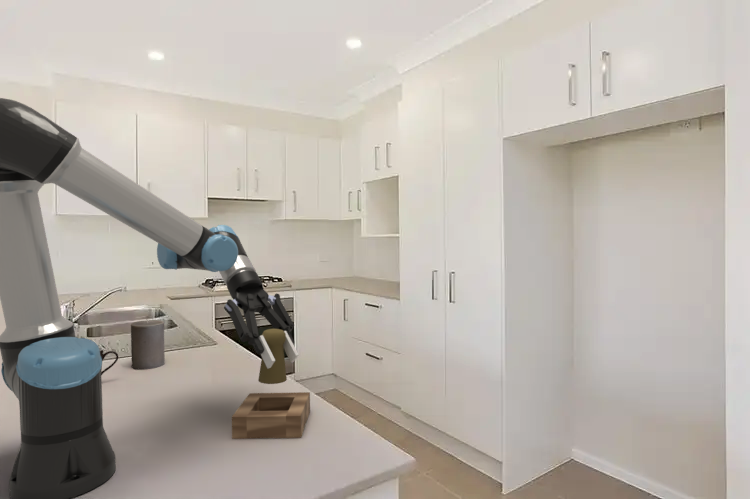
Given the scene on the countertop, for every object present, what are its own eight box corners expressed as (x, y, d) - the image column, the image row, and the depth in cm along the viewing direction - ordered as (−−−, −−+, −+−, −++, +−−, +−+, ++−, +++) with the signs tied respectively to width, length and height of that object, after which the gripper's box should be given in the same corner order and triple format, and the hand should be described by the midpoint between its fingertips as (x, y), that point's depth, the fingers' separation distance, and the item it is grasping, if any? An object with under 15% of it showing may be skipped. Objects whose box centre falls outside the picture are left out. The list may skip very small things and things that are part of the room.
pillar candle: (124, 368, 146) (123, 321, 146) (146, 360, 156) (145, 315, 155) (151, 370, 144) (149, 322, 143) (171, 362, 154) (170, 316, 153)
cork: (274, 374, 106) (276, 325, 106) (292, 379, 102) (293, 329, 102) (252, 379, 101) (253, 329, 101) (270, 385, 98) (271, 333, 97)
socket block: (301, 437, 95) (300, 415, 95) (232, 438, 95) (231, 416, 95) (310, 411, 109) (309, 392, 109) (250, 412, 109) (249, 393, 109)
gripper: (269, 286, 119) (310, 362, 108) (199, 293, 106) (238, 381, 95) (280, 266, 115) (324, 343, 104) (209, 271, 102) (251, 360, 91)
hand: (283, 361), depth 99 cm, fingers closed on cork, 5 cm apart
